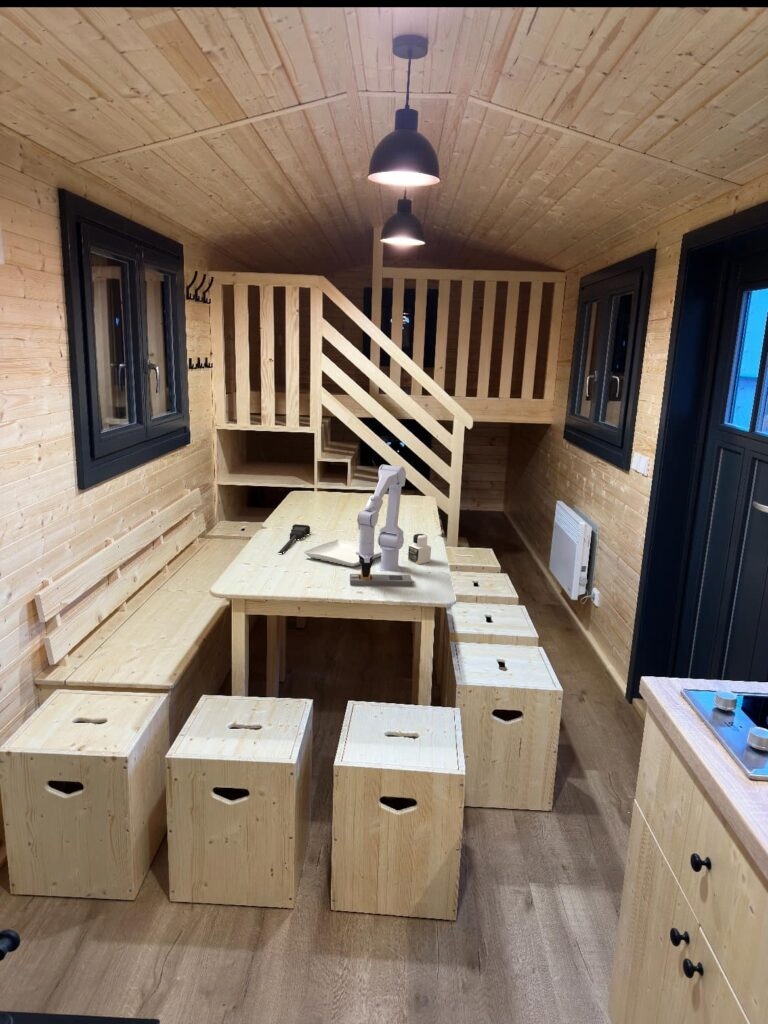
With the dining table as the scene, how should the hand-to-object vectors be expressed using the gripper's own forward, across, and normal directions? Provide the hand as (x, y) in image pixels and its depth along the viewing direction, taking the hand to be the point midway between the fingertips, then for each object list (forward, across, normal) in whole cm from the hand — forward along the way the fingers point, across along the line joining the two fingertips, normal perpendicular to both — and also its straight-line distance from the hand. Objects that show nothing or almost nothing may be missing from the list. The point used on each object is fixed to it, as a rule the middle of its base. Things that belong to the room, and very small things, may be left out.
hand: (365, 575), depth 277 cm
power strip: (+3, 0, +6) cm, 7 cm away
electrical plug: (+4, -57, -31) cm, 65 cm away
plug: (+3, 0, 0) cm, 3 cm away
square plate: (+4, -35, -7) cm, 36 cm away
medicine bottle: (+4, -31, +25) cm, 40 cm away
